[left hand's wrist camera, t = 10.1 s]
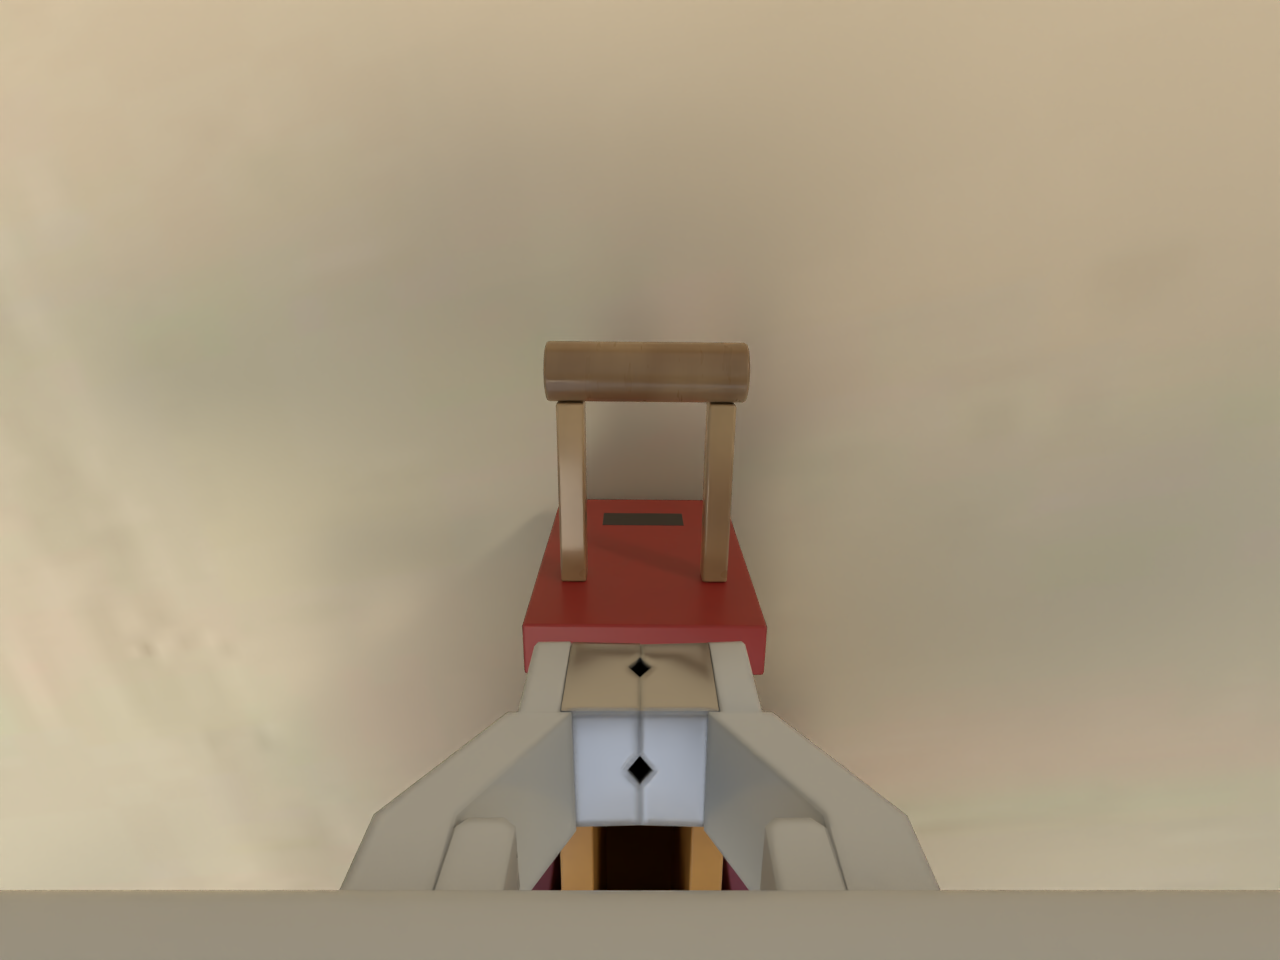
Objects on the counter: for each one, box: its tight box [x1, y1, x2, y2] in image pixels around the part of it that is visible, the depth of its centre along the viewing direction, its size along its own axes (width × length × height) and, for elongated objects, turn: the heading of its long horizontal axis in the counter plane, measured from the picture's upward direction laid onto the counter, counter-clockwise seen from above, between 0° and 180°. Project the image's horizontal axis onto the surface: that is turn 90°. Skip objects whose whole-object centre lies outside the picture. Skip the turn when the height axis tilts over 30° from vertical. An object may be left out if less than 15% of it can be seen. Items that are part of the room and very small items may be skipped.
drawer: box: [522, 341, 767, 890], centre depth 20 cm, size 24×5×8 cm, turn 179°
